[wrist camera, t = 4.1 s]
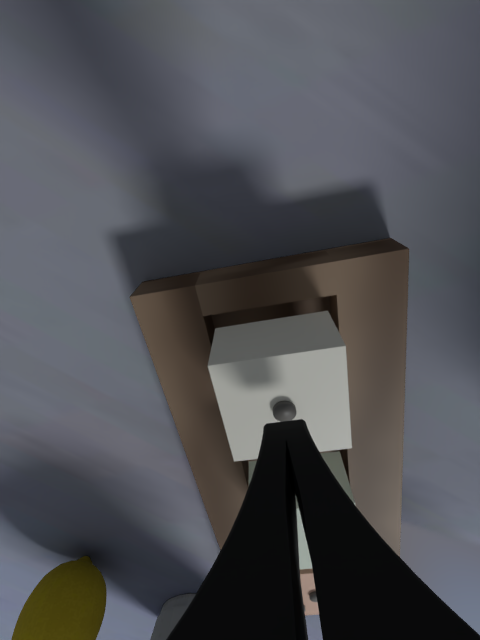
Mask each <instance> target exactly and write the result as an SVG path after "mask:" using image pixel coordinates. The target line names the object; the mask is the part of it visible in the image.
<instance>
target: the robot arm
mask: <svg viewBox="0 0 480 640" xmlns="http://www.w3.org/2000/svg"><path fill="white" fill-rule="evenodd" d="M296 498H297V502H298V506H299V511H300V515H301V519H302V524H303V528H304V532H305V537H306V541H307V545H308V550H309V554H310V558H311V563H312V569H313V576H314V582H315V589H316V596H317V602H318V609H319V616H320V622H321V629H322V636H323V640H480V635H479V634H478V633H477V632H476V631H474V630H473V629H472V628H471V627H470V626H469V625H468V624H467V623H466V622H465V621H464V620H463V619H461V618H460V617H459V616H458V615H457V614H456V613H455V612H454V611H452V609H450V607H449V606H447V605H446V604H445V603H444V602H443V601H442V600H441V599H440V598H439V597H438V596H437V595H436V594H435V593H434V592H433V591H432V590H431V589H430V588H429V587H428V586H427V585H426V584H425V583H424V582H423V581H422V580H421V579H420V578H419V577H418V576H417V575H416V574H415V573H414V572H413V571H412V570H411V569H410V568H409V567H408V566H407V565H406V563H405V562H404V561H403V560H402V559H401V558H400V557H399V556H398V555H397V554H396V553H395V552H394V551H393V550H392V548H391V547H390V546H389V545H388V544H387V543H386V542H385V541H384V540H383V539H382V537H381V536H380V535H379V534H378V533H377V532H376V530H375V529H374V528H373V527H372V526H371V524H370V523H369V522H368V521H367V520H366V518H365V517H364V516H363V515H362V513H361V512H360V511H359V510H358V508H357V507H356V506H355V504H354V503H353V502H352V500H351V499H350V498H349V496H348V495H347V494H346V492H345V491H344V489H343V488H342V487H341V485H340V484H339V482H338V481H337V479H336V478H335V476H334V475H333V473H332V472H331V470H330V469H329V467H328V465H327V464H326V462H325V461H324V459H323V457H322V456H321V454H320V452H319V450H318V448H317V447H316V445H315V443H314V441H313V439H312V437H311V435H310V432H309V430H308V428H307V425H306V422H305V421H304V420H302V419H299V420H291V421H283V422H275V423H267V424H266V425H265V426H264V428H263V436H262V442H261V447H260V451H259V455H258V459H257V462H256V465H255V469H254V472H253V475H252V478H251V481H250V484H249V487H248V490H247V492H246V495H245V498H244V500H243V503H242V506H241V508H240V511H239V513H238V515H237V518H236V520H235V522H234V524H233V526H232V529H231V531H230V533H229V535H228V537H227V539H226V541H225V543H224V545H223V547H222V549H221V551H220V553H219V555H218V557H217V559H216V561H215V562H214V564H213V566H212V568H211V570H210V571H209V573H208V575H207V576H206V578H205V580H204V581H203V583H202V585H201V586H200V588H199V590H198V592H197V593H196V595H195V597H194V598H193V600H192V602H191V603H190V605H189V606H188V608H187V609H186V611H185V613H184V614H183V615H182V617H181V618H180V620H179V621H178V623H177V624H176V626H175V627H174V629H173V630H172V632H171V633H170V635H169V636H168V637H167V639H166V640H308V635H307V627H306V619H305V612H304V604H303V596H302V588H301V579H300V567H299V548H298V529H297V510H296Z"/></svg>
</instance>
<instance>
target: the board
mask: <svg viewBox="0 0 480 640" xmlns="http://www.w3.org/2000/svg"><path fill="white" fill-rule="evenodd" d="M408 271H409V248H407V247H405V246H404V245H402V244H400V243H398V242H397V241H395V240H393V239H392V238H387V239H382V240H376V241H370V242H365V243H359V244H353V245H348V246H342V247H336V248H331V249H325V250H320V251H314V252H308V253H303V254H297V255H291V256H286V257H280V258H274V259H269V260H263V261H257V262H252V263H246V264H240V265H235V266H229V267H223V268H218V269H212V270H207V271H201V272H195V273H190V274H184V275H178V276H173V277H167V278H161V279H156V280H150V281H144V282H142V283H141V284H140V286H139V287H138V288H137V289H136V290H135V291H134V292H133V294H132V295H131V296H130V299H131V302H132V305H133V308H134V310H135V313H136V316H137V319H138V321H139V324H140V327H141V330H142V333H143V335H144V338H145V341H146V344H147V347H148V349H149V352H150V355H151V358H152V360H153V363H154V366H155V369H156V372H157V374H158V377H159V380H160V383H161V386H162V388H163V391H164V394H165V397H166V399H167V402H168V405H169V408H170V411H171V413H172V416H173V419H174V422H175V425H176V427H177V430H178V433H179V436H180V438H181V441H182V444H183V447H184V450H185V452H186V455H187V458H188V461H189V464H190V466H191V469H192V472H193V475H194V477H195V480H196V483H197V486H198V489H199V491H200V494H201V497H202V500H203V503H204V505H205V508H206V511H207V514H208V516H209V519H210V522H211V525H212V528H213V530H214V533H215V536H216V539H217V542H218V544H219V547H220V550H221V549H222V547H223V545H224V543H225V541H226V539H227V537H228V535H229V533H230V531H231V529H232V526H233V524H234V522H235V520H236V518H237V515H238V513H239V511H240V508H241V506H242V503H243V500H244V498H245V495H246V492H247V490H248V487H249V462H250V461H257V459H253V460H244V461H235V462H234V459H233V456H232V452H231V449H230V445H229V441H228V438H227V434H226V430H225V427H224V423H223V420H222V416H221V412H220V409H219V405H218V402H217V398H216V394H215V391H214V387H213V383H212V380H211V376H210V373H209V369H208V362H209V357H210V352H211V347H212V342H213V337H214V332H215V328H220V327H227V326H233V325H239V324H246V323H252V322H258V321H265V320H271V319H277V318H284V317H290V316H297V315H303V314H309V313H316V312H322V311H328V312H329V314H330V316H331V318H332V320H333V322H334V324H335V326H336V328H337V329H338V331H339V333H340V335H341V337H342V339H343V341H344V343H345V345H346V358H347V374H348V391H349V408H350V424H351V441H352V448H350V449H341V450H332V451H323V452H320V454H321V453H329V452H338V451H340V454H341V458H342V461H343V464H344V468H345V471H346V474H347V477H348V481H349V484H350V487H351V491H352V494H353V497H354V500H355V506H356V507H357V508H358V510H359V511H360V512H361V513H362V515H363V516H364V517H365V518H366V520H367V521H368V522H369V523H370V524H371V526H372V527H373V528H374V529H375V530H376V532H377V533H378V534H379V535H380V536H381V537H382V539H383V540H384V541H385V542H386V543H387V544H388V545H389V546H390V547H391V548H392V550H393V551H394V552H395V553H396V554H397V555H398V556H399V557H400V533H401V500H402V468H403V435H404V402H405V369H406V336H407V303H408Z"/></svg>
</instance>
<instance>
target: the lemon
mask: <svg viewBox="0 0 480 640" xmlns="http://www.w3.org/2000/svg"><path fill="white" fill-rule="evenodd" d="M105 607H106V584H105V581H104V578H103V576H102V574H101V572H100V571H99V570H98V568H97V567H95V566H94V565H93V564H92V561H91V559H90V557H88V556H83V557H82V558H80V559H78V560H77V561H76V560H75V561H69V562H66V563H63V564H61V565H59V566H57V567H56V568H54V569H53V570H51V571H50V572H49V573H48V574H46V575H45V576H44V577H43V579H42V580H41V581H40V582H39V583H38V585H37V586H36V587H35V589H34V590H33V592H32V593H31V595H30V596H29V598H28V599H27V601H26V603H25V605H24V607H23V609H22V611H21V613H20V615H19V618H18V620H17V623H16V626H15V629H14V633H13V636H12V640H95V639H96V637H97V635H98V632H99V630H100V627H101V624H102V621H103V617H104V613H105Z"/></svg>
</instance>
